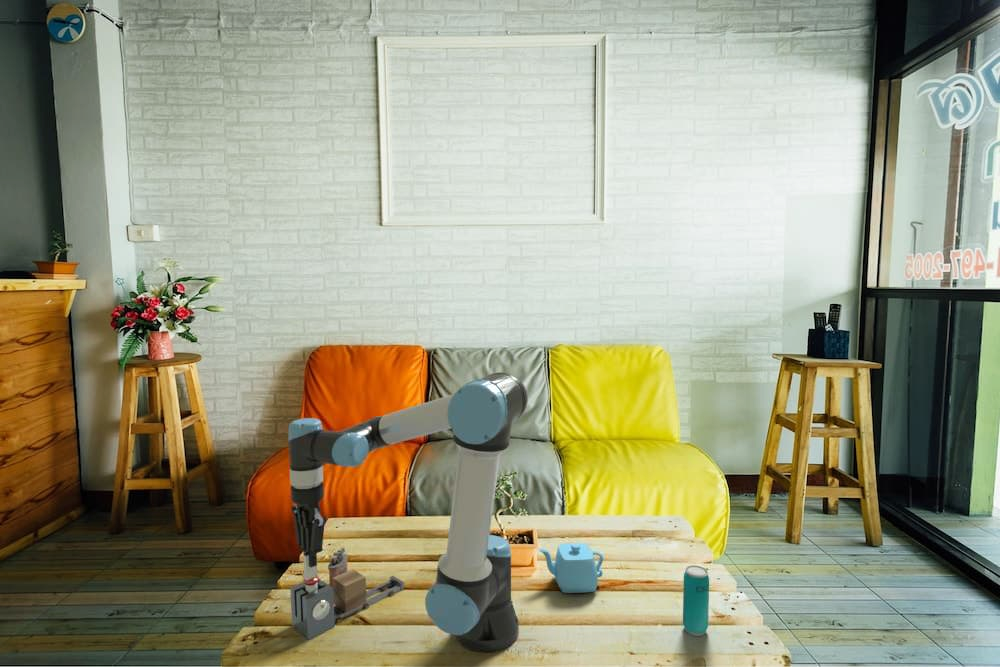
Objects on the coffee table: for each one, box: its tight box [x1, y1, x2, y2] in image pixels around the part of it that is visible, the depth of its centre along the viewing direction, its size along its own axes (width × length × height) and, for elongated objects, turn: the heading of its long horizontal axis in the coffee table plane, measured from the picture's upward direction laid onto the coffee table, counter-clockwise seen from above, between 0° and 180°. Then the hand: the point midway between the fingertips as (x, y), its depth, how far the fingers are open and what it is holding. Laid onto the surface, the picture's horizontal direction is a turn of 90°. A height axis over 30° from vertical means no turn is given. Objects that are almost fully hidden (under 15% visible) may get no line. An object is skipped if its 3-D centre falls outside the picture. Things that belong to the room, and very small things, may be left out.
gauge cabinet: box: [289, 577, 336, 641], centre depth 139 cm, size 8×7×10 cm
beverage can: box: [682, 565, 710, 637], centre depth 136 cm, size 6×6×15 cm
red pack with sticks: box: [327, 546, 349, 588], centre depth 157 cm, size 8×3×10 cm, turn 168°
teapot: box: [538, 542, 604, 594], centre depth 157 cm, size 12×18×12 cm
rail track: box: [294, 575, 405, 637], centre depth 147 cm, size 6×29×2 cm, turn 136°
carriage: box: [333, 569, 367, 613], centre depth 146 cm, size 6×6×7 cm
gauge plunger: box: [303, 575, 319, 595], centre depth 139 cm, size 3×3×7 cm
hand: (310, 577), depth 138 cm, fingers closed
